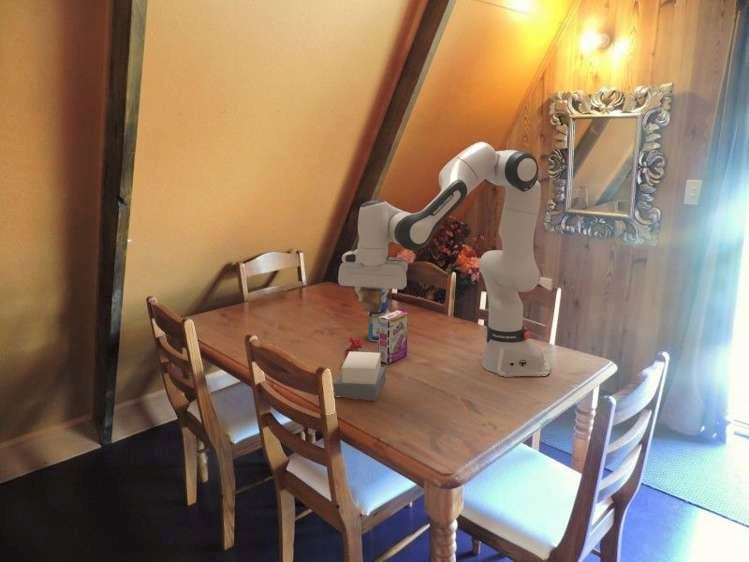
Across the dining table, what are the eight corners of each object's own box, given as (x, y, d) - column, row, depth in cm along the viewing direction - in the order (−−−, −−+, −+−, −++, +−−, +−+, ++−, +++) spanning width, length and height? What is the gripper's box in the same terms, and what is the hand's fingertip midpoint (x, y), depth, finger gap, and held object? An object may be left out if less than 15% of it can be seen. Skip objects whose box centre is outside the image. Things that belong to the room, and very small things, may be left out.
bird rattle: (342, 374, 189) (361, 370, 184) (331, 343, 189) (350, 338, 184) (353, 368, 194) (373, 364, 189) (343, 338, 194) (362, 333, 189)
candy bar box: (389, 365, 191) (388, 319, 187) (377, 361, 194) (377, 317, 190) (408, 355, 200) (408, 312, 196) (397, 352, 203) (397, 309, 199)
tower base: (385, 381, 179) (385, 367, 178) (375, 402, 165) (375, 386, 164) (346, 378, 182) (346, 364, 181) (333, 398, 168) (333, 383, 167)
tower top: (380, 367, 178) (380, 352, 177) (375, 384, 166) (375, 368, 164) (349, 366, 179) (349, 351, 178) (342, 382, 167) (341, 367, 166)
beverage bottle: (376, 333, 223) (375, 285, 218) (393, 337, 218) (393, 288, 213) (363, 339, 216) (362, 290, 211) (381, 344, 211) (381, 293, 206)
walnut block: (381, 307, 168) (382, 288, 167) (378, 311, 163) (378, 292, 162) (365, 306, 169) (365, 287, 168) (362, 310, 164) (362, 291, 163)
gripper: (409, 255, 164) (408, 301, 167) (342, 252, 168) (342, 296, 171) (406, 259, 158) (405, 306, 161) (336, 256, 162) (336, 301, 165)
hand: (372, 301), depth 166 cm, fingers closed on walnut block, 5 cm apart
